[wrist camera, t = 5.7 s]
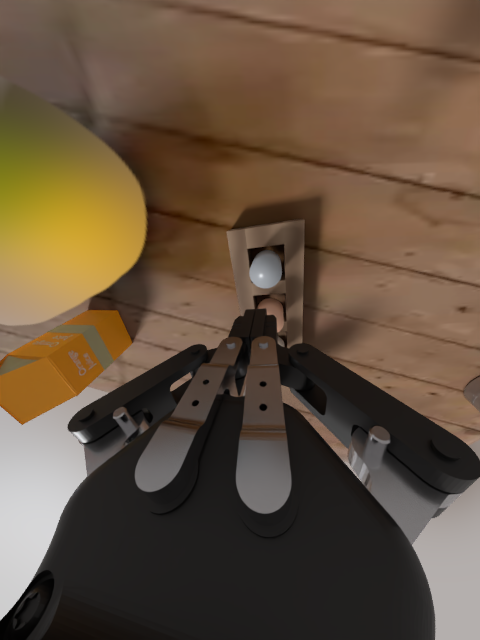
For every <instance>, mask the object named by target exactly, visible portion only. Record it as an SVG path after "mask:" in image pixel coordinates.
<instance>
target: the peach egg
mask: <svg viewBox="0 0 480 640" xmlns="http://www.w3.org/2000/svg"><path fill="white" fill-rule="evenodd" d="M263 308H266V310H267V315H274V316H275V317H276V318H277V333H278V332H279V331H280V330H281V329H282V328H283V325H284V317H283V306H282V304H281V303H280V302H279V301H278V300H276V299H273V298H267V299H264V300H262V301H261V302H260V303H259V305H258V308H257V309H263Z"/></svg>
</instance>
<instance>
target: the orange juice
mask: <svg viewBox="0 0 480 640" xmlns="http://www.w3.org/2000/svg"><path fill="white" fill-rule="evenodd" d="M131 344H132V340H131V338H130V336H129V334H128V332H127V330H126V328H125V325H124V323H123V321H122V319H121V317H120V315H119V312H118V310H87V311H85V312H84V313H82V314H80V315H78V316H76V317H74V318H73V319H71V320H69V321H67V322H65V323H64V324H62V325H59V326H57V327H56V328H54V329H52V330H50V331H48V332H47V333H45V334H43V335H42V336H40V337H38V338H36V339H34V340H33V341H31V342H29V343H27V344H25V345H23V346H22V347H20V348H18V349H16V350H14V351H13V352H11V353H9V354H7V355H6V356H5V357H4V358H3V359H2V360H1V361H0V406H1V407H2V408H3V409H4V410H5V411H7V412H8V413H9V414H10V415H11V416H13V417H14V418H15V419H16V420H17V421H19V423H21V424H22V425H23V424H24V423H26V422H28V421H30V420H32V419H34V418H36V417H37V416H39V415H41V414H42V413H45V412H47V411H49V410H50V409H52V408H54V407H56V406H58V405H60V404H62V403H63V402H65V401H67V400H69V399H71V398H73V397H75V396H77V395H79V394H80V393H81V392H82V391H83V390H84V389H85V388H86V387H87V386H88V385H89V384H90V383H91V382H92V381H93V380H94V379H95V378H96V377H98V376H99V375H100V374H101V373H102V372H103V371H104V370H105V369H106V368H107V367H108V366H110V365H111V364H112V363H113V362H114V360H115V359H116V358H118V357H119V356H120V355H121V354H122V353H123V352H124V351H125V350H126V349H127V348H128V347H129V346H130V345H131Z"/></svg>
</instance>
